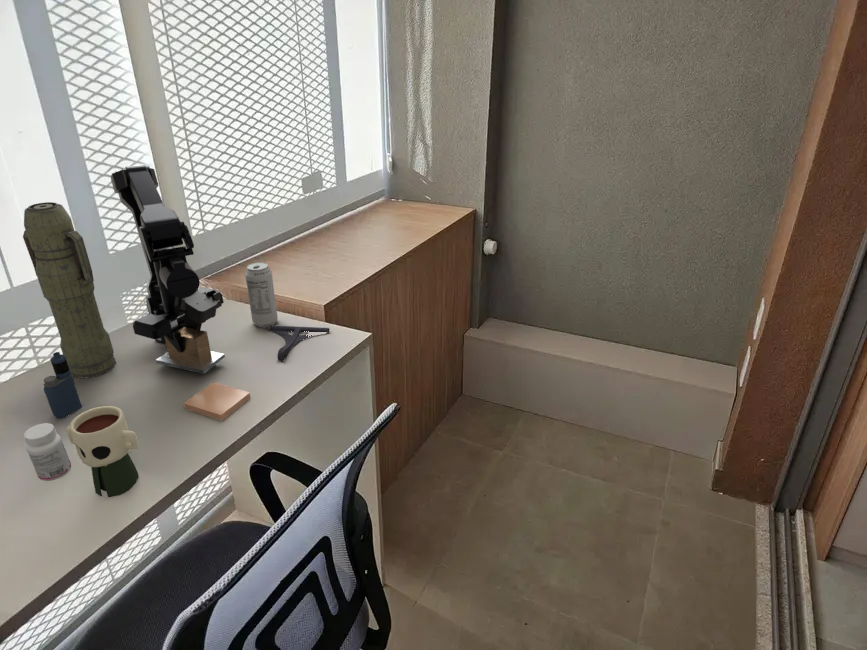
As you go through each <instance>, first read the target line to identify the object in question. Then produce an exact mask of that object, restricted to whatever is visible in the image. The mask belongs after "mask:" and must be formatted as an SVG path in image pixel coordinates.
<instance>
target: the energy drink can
mask: <svg viewBox="0 0 867 650" xmlns="http://www.w3.org/2000/svg"><path fill="white" fill-rule="evenodd" d="M244 274H245V276H244V277H245V282H246V289H247V293H248V296H247V297H248V301H249V307H250V315H251V320H252V323H253V324H255V326H256V327H257V328H269V326H270V325H272V326H275V324H276V322H277V321H278V319H279V318H278V309H277V301H276V295H275V287H274V280H273V273H272V270H271V268H270V267H269V264H268V263H267V262H260V261H259V262H253V263H252V262H251V263H249V264H248V265H247V266H246V271H245V273H244Z"/></svg>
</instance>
